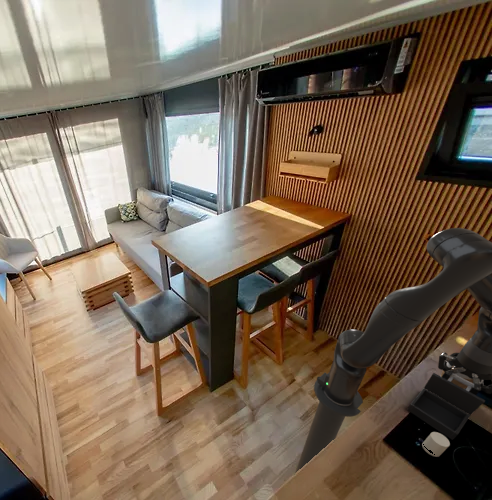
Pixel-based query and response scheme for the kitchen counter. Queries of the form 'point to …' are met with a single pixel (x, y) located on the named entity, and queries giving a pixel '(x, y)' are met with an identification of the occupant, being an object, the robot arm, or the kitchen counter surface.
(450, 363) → the coffee cup
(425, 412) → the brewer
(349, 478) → the kitchen counter surface
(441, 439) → the cylinder
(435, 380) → the lid
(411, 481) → the kitchen counter surface
